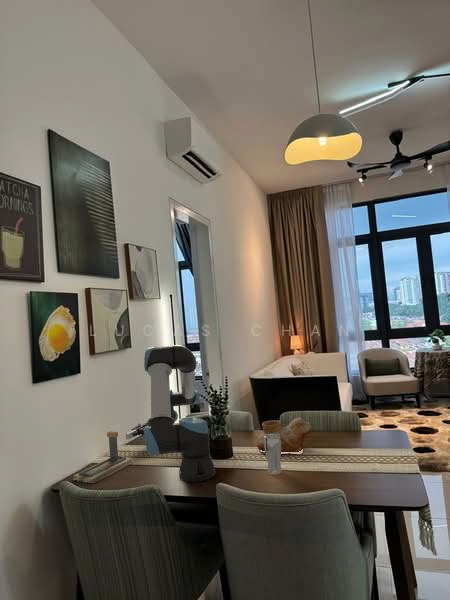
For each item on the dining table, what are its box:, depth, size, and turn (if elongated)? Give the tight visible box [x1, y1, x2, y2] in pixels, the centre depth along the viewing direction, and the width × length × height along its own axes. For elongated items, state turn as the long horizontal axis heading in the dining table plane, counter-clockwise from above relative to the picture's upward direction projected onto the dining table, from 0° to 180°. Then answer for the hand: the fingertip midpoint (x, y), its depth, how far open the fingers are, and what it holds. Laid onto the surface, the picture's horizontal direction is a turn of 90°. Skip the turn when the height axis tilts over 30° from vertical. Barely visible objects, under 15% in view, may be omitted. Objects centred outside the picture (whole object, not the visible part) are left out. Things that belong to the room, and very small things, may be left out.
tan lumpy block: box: [256, 416, 312, 452], centre depth 199 cm, size 14×26×15 cm, turn 80°
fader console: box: [72, 455, 133, 484], centre depth 189 cm, size 12×24×3 cm, turn 152°
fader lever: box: [106, 430, 120, 462], centre depth 196 cm, size 5×2×13 cm, turn 62°
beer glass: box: [264, 433, 283, 473], centre depth 174 cm, size 7×7×15 cm
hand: (127, 436), depth 205 cm, fingers closed
